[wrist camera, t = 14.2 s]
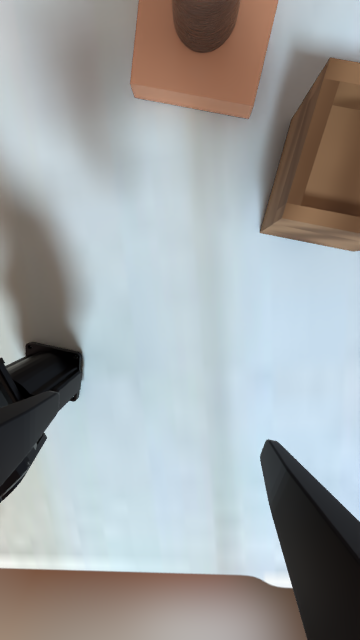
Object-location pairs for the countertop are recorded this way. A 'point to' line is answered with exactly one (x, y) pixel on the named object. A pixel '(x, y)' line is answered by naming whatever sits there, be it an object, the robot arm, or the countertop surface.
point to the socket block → (321, 165)
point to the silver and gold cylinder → (204, 22)
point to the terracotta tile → (201, 60)
